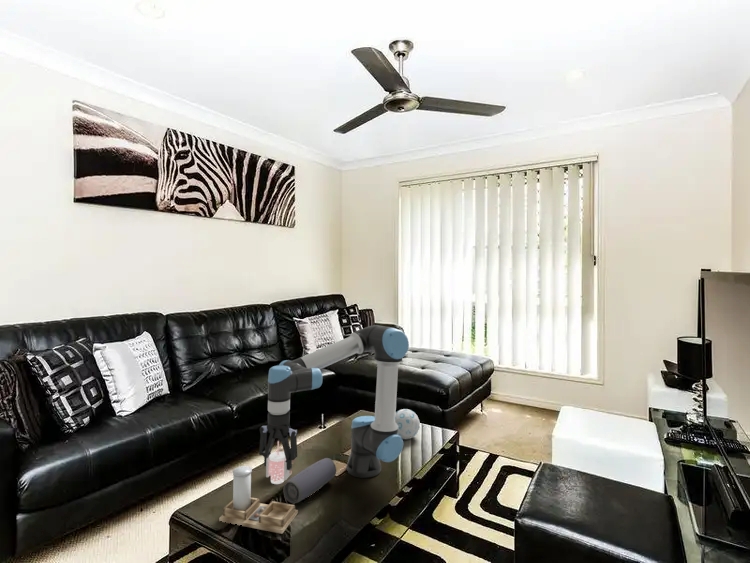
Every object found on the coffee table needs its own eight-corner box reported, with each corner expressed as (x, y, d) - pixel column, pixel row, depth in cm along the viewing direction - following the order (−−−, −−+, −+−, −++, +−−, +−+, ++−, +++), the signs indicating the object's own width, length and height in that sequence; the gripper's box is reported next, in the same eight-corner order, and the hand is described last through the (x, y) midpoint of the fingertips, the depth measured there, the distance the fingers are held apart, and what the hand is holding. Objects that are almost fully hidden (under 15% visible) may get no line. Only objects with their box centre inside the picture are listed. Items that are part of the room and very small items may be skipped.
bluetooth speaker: (319, 477, 174) (319, 453, 174) (337, 483, 169) (337, 459, 169) (281, 502, 155) (282, 476, 154) (300, 510, 150) (301, 483, 150)
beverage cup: (278, 474, 147) (278, 436, 147) (290, 479, 144) (291, 440, 143) (264, 481, 142) (265, 441, 142) (276, 487, 139) (277, 446, 138)
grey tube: (254, 506, 149) (255, 467, 149) (244, 517, 143) (245, 476, 143) (238, 504, 151) (239, 464, 151) (228, 514, 145) (228, 473, 144)
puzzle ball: (386, 434, 220) (386, 407, 220) (410, 430, 227) (411, 403, 226) (399, 445, 207) (400, 416, 206) (425, 441, 213) (425, 412, 213)
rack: (297, 513, 148) (297, 503, 148) (282, 533, 137) (282, 522, 136) (238, 502, 154) (239, 492, 154) (219, 521, 142) (219, 510, 142)
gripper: (308, 410, 144) (307, 475, 144) (259, 404, 148) (258, 467, 149) (299, 418, 136) (298, 486, 137) (248, 411, 141) (247, 477, 142)
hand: (277, 476), depth 143 cm, fingers closed on beverage cup, 6 cm apart
